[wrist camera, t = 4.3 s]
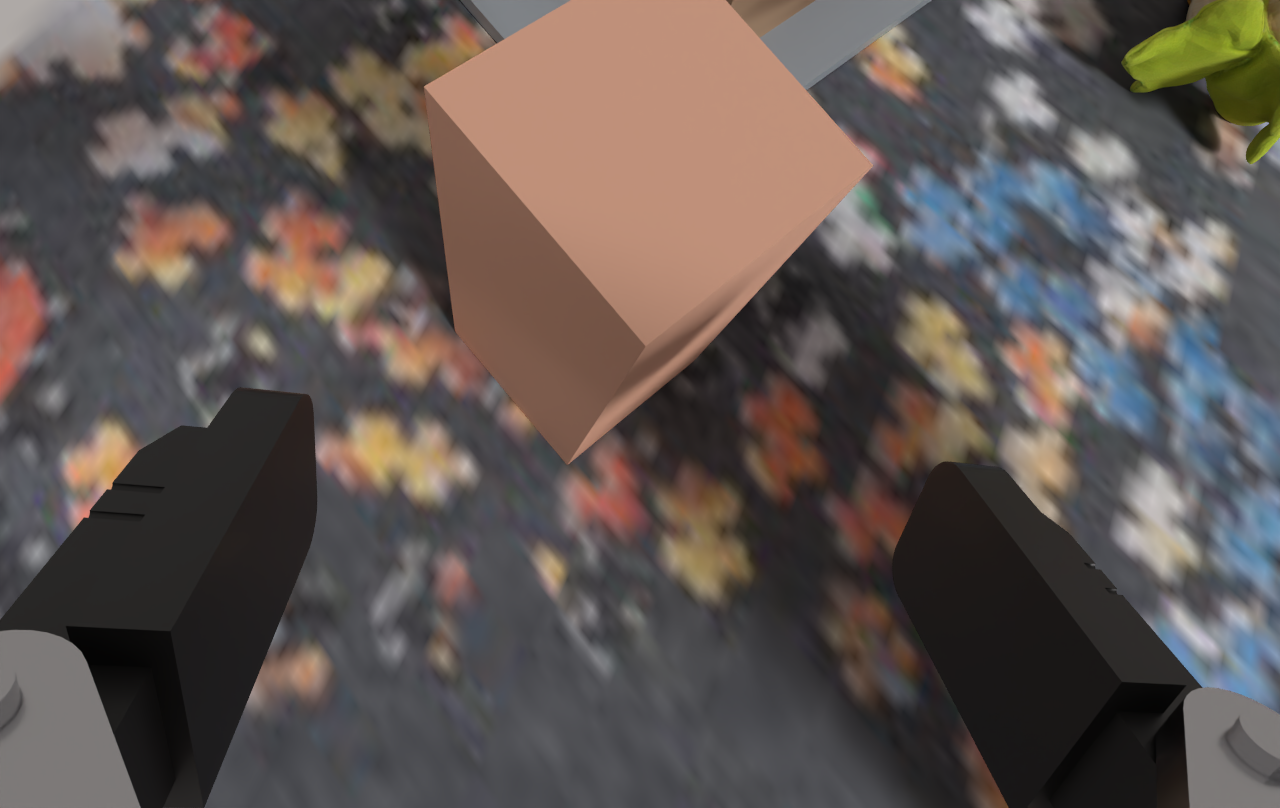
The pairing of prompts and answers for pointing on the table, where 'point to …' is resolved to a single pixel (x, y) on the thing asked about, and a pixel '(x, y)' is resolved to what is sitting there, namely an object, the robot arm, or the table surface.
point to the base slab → (767, 12)
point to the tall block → (621, 198)
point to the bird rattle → (1220, 62)
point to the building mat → (805, 43)
